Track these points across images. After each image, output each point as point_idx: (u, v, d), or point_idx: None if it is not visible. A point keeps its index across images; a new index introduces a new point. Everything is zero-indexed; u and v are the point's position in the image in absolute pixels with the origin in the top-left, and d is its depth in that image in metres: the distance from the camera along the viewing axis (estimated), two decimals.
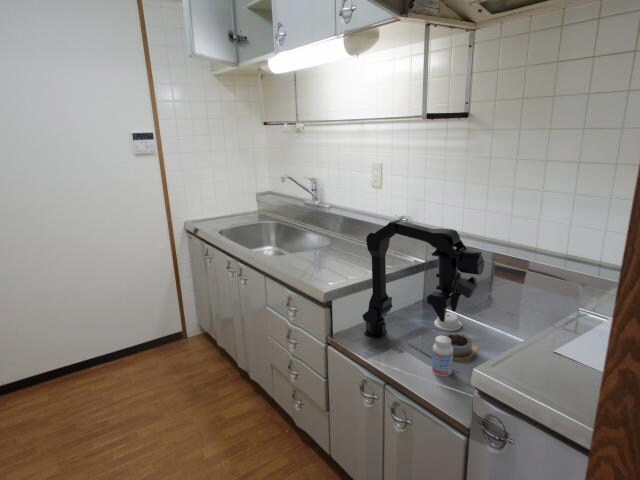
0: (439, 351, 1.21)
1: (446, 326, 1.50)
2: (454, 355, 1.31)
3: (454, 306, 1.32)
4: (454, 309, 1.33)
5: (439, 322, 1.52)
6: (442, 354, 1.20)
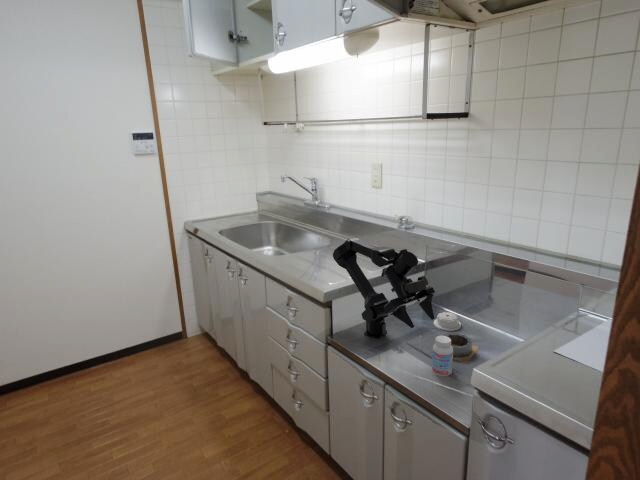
0: (439, 351, 1.21)
1: (446, 326, 1.50)
2: (454, 355, 1.31)
3: (430, 314, 1.31)
4: (432, 317, 1.30)
5: (439, 322, 1.52)
6: (442, 354, 1.20)
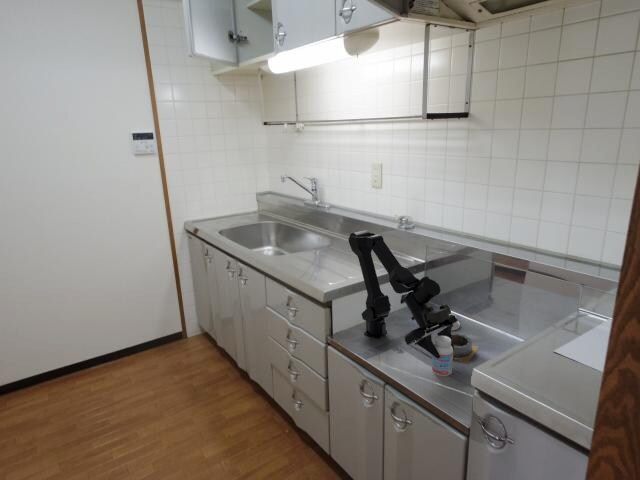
0: (439, 351, 1.21)
1: None
2: (454, 355, 1.31)
3: None
4: None
5: None
6: (442, 354, 1.20)
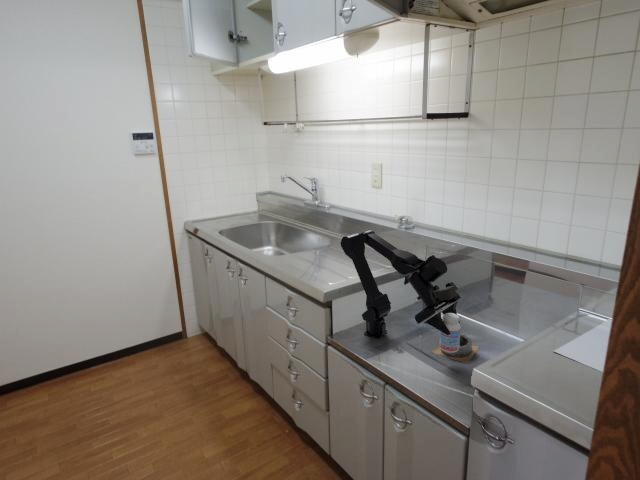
0: (449, 328, 1.23)
1: None
2: (454, 355, 1.31)
3: None
4: None
5: None
6: (452, 330, 1.22)
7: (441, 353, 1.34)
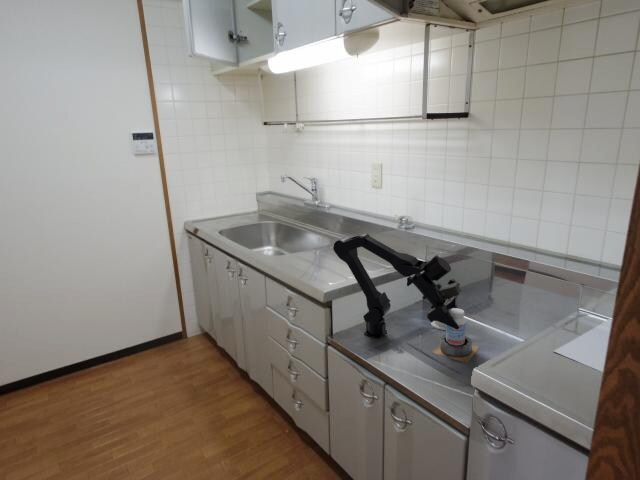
0: (457, 322, 1.30)
1: (442, 325, 1.50)
2: (454, 355, 1.31)
3: None
4: None
5: (436, 321, 1.52)
6: (460, 324, 1.30)
7: (441, 353, 1.34)
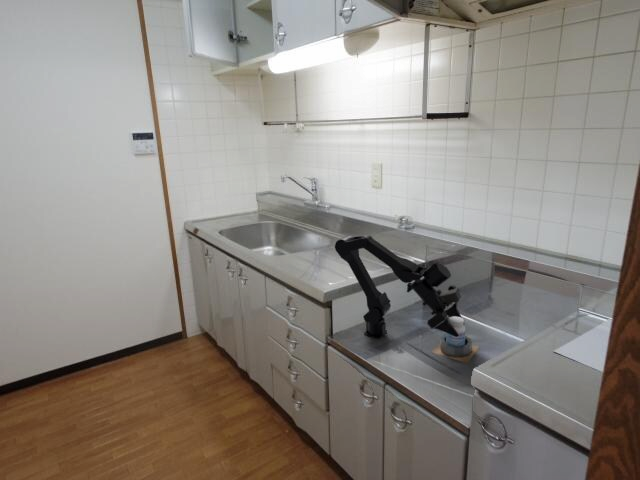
0: (457, 330, 1.31)
1: None
2: (454, 355, 1.31)
3: None
4: None
5: None
6: (460, 332, 1.31)
7: (441, 353, 1.34)
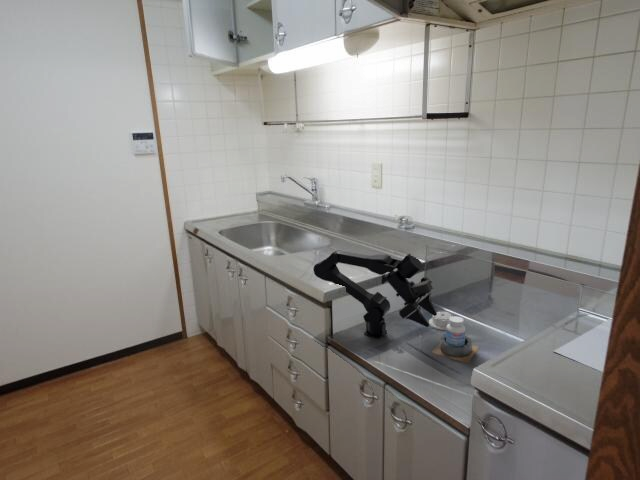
0: (457, 331, 1.31)
1: (441, 325, 1.51)
2: (454, 355, 1.31)
3: (433, 311, 1.41)
4: (435, 313, 1.41)
5: (434, 321, 1.53)
6: (460, 332, 1.31)
7: (441, 353, 1.34)
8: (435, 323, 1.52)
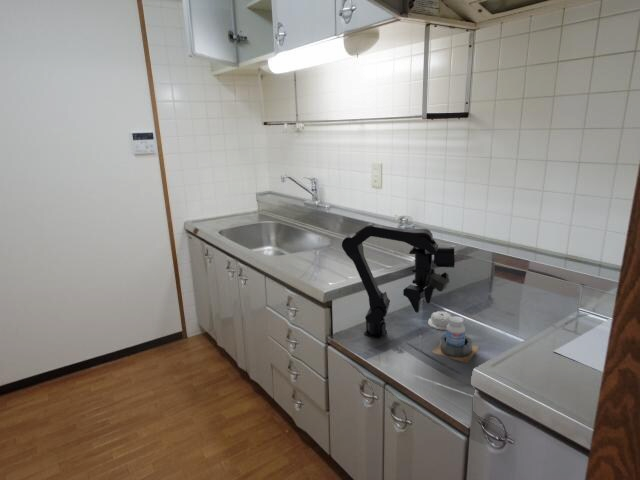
0: (457, 331, 1.31)
1: (440, 325, 1.51)
2: (454, 355, 1.31)
3: (428, 299, 1.45)
4: (428, 301, 1.45)
5: (433, 321, 1.53)
6: (460, 332, 1.31)
7: (441, 353, 1.34)
8: (434, 323, 1.52)
